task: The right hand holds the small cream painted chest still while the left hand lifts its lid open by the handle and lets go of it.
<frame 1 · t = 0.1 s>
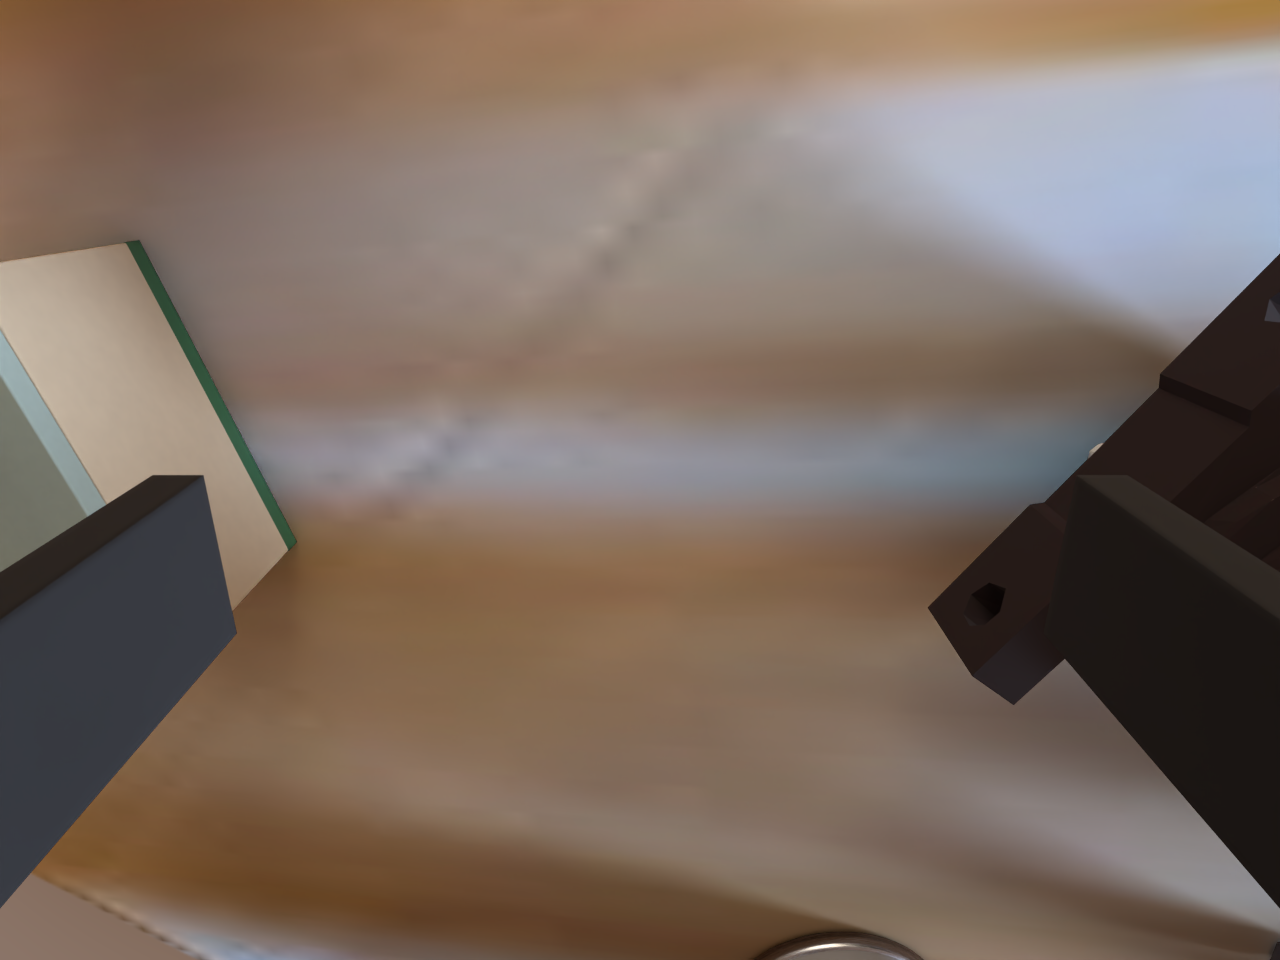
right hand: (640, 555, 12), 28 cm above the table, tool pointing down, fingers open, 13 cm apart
chest: (134, 430, 41), on the table
mechanical component: (1243, 573, 44), on the table
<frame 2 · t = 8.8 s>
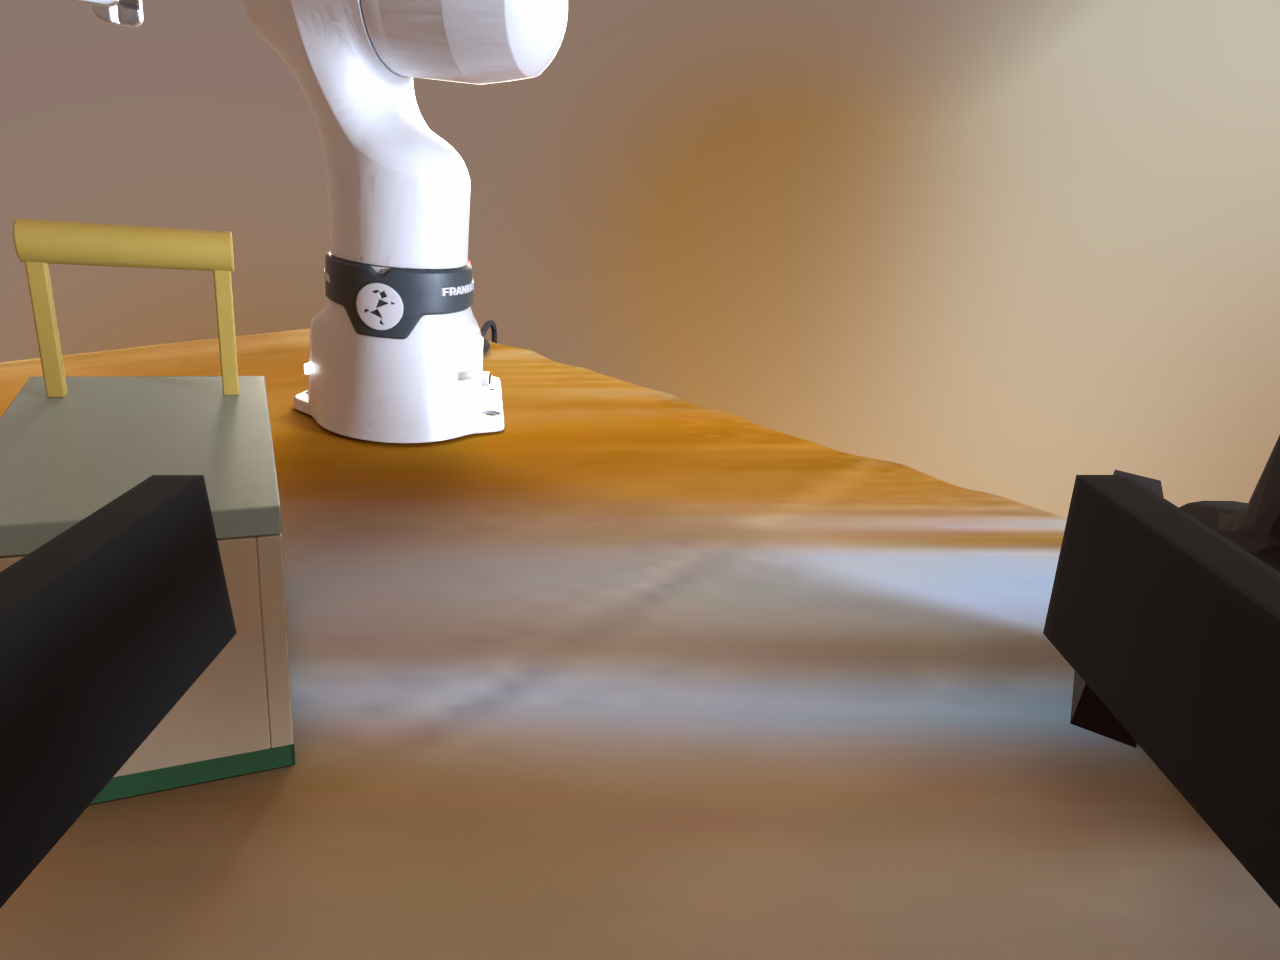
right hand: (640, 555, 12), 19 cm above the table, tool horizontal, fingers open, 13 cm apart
chest: (165, 669, 38), on the table
lid: (127, 355, 32), point 15 cm above the table, hinge at 0.0°
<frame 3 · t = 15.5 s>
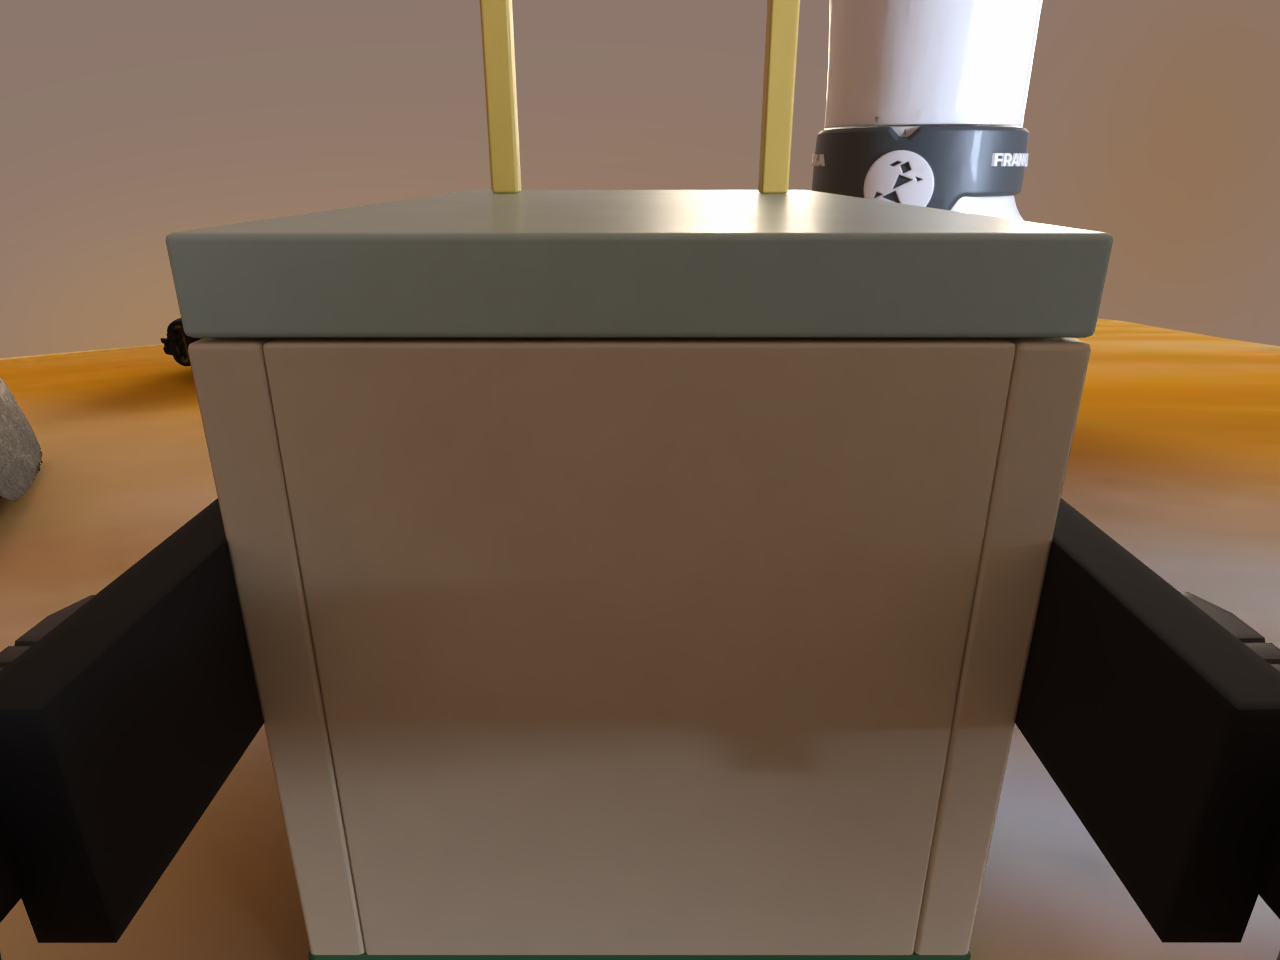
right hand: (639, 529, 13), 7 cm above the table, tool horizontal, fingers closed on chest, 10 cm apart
chest: (639, 690, 20), on the table, touching right hand
lid: (639, 18, 15), point 15 cm above the table, hinge at 0.0°
tape measure: (239, 369, 52), on the table
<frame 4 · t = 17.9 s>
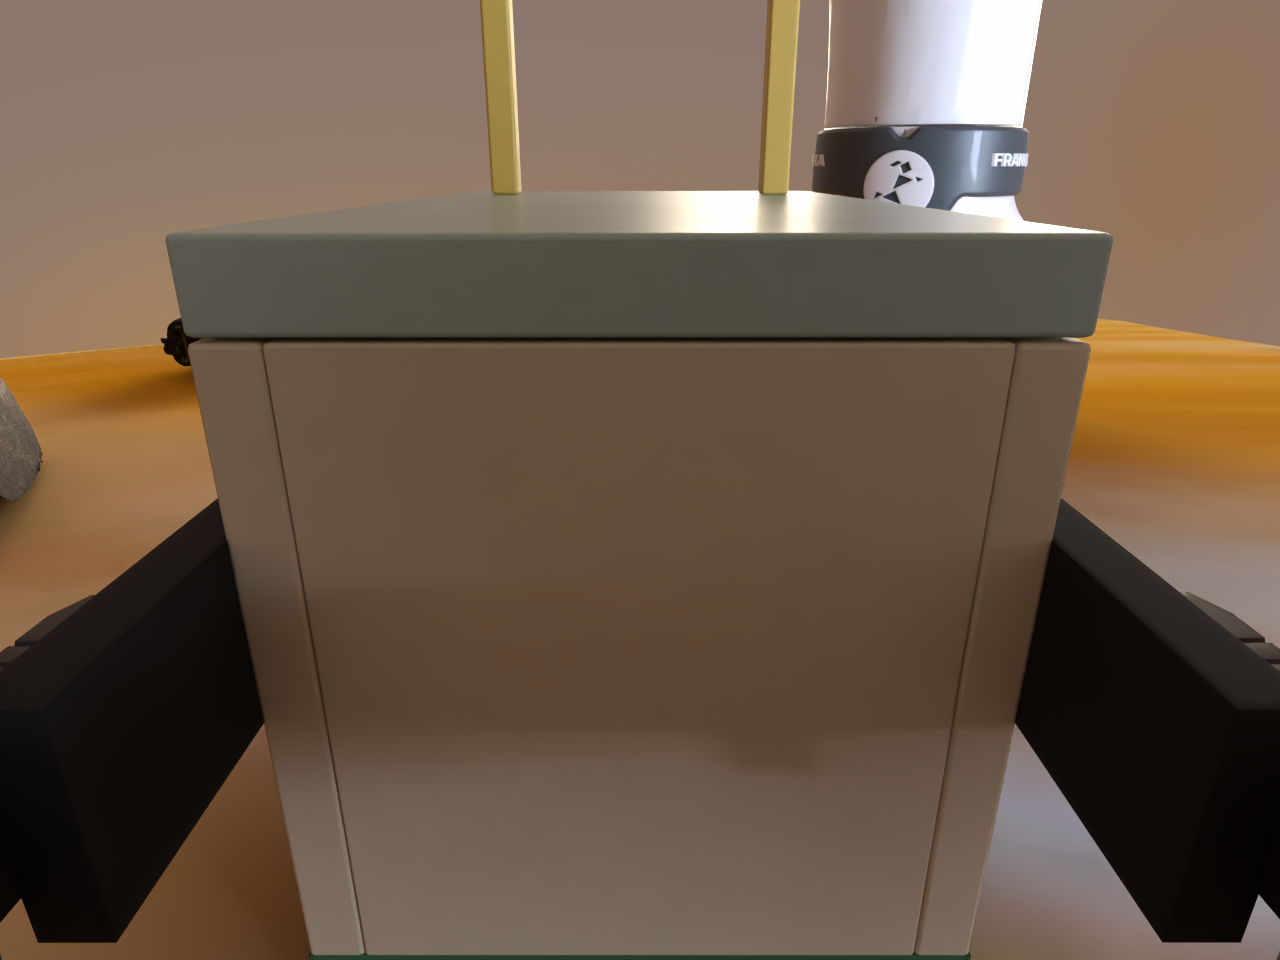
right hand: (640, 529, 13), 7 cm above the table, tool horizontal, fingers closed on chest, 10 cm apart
chest: (639, 690, 20), on the table, touching right hand
lid: (639, 19, 15), point 15 cm above the table, hinge at -0.1°, touching left hand
tape measure: (239, 369, 52), on the table
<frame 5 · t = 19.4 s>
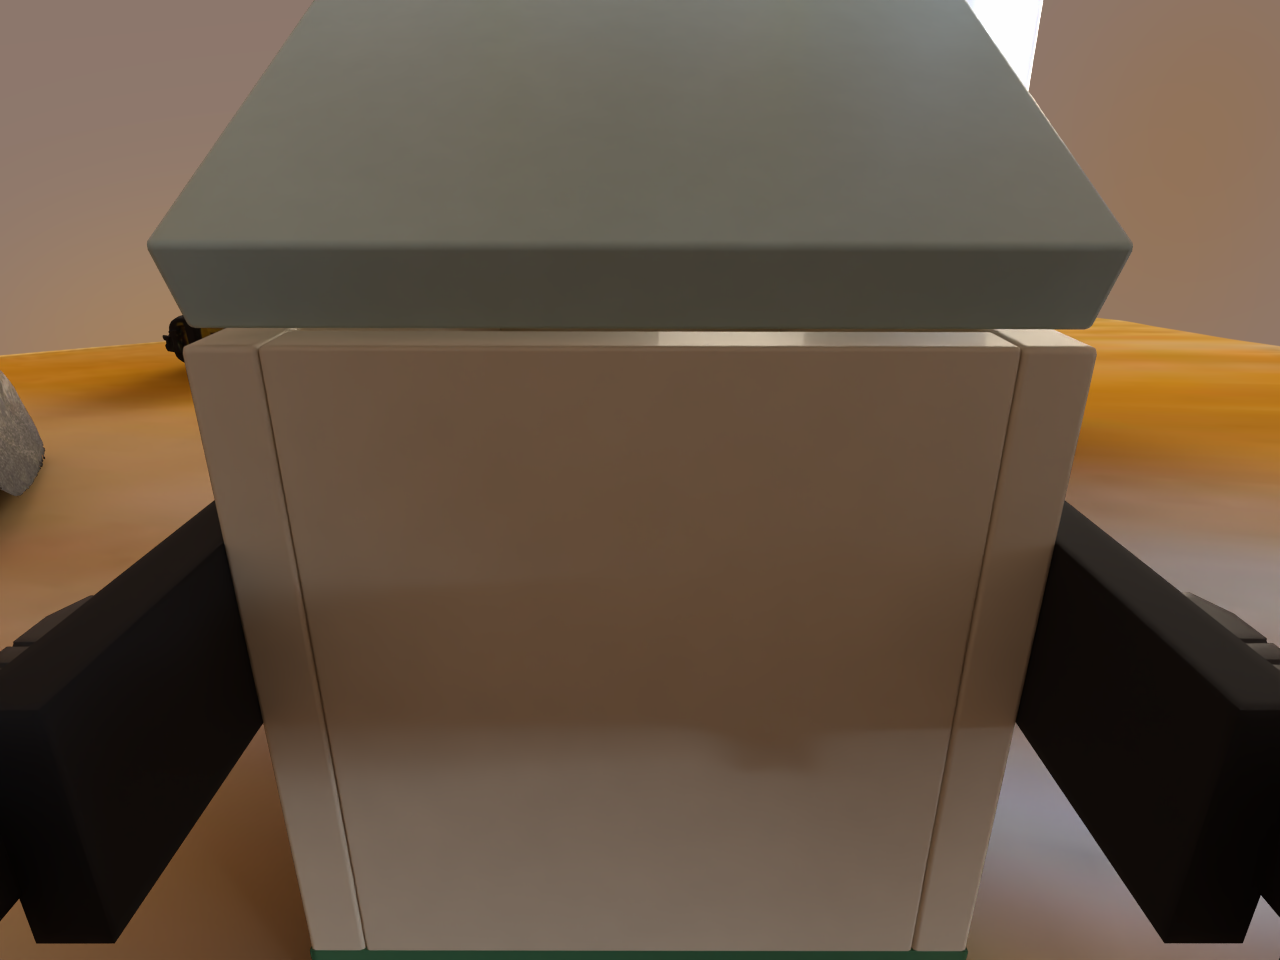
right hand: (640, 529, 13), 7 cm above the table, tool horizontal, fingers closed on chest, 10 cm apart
chest: (639, 682, 20), on the table, touching right hand
tape measure: (241, 366, 52), on the table
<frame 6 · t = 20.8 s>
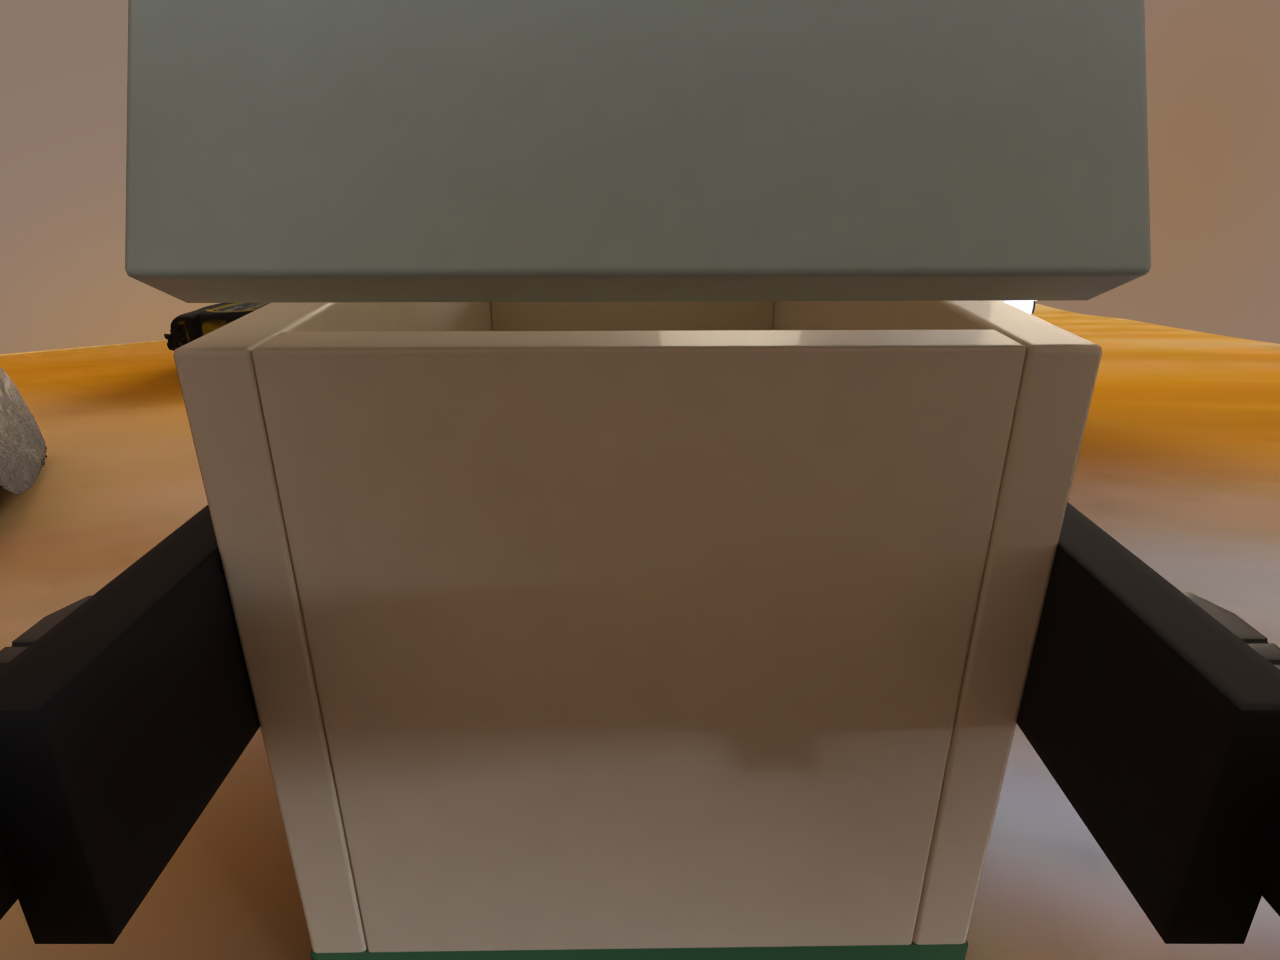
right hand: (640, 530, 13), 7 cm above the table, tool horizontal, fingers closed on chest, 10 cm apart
chest: (635, 675, 20), on the table, touching right hand
tape measure: (242, 365, 52), on the table
when the right hand's fingers open (7 cm above the table, at t = 25.2 s): chest stays where it is, on the table.
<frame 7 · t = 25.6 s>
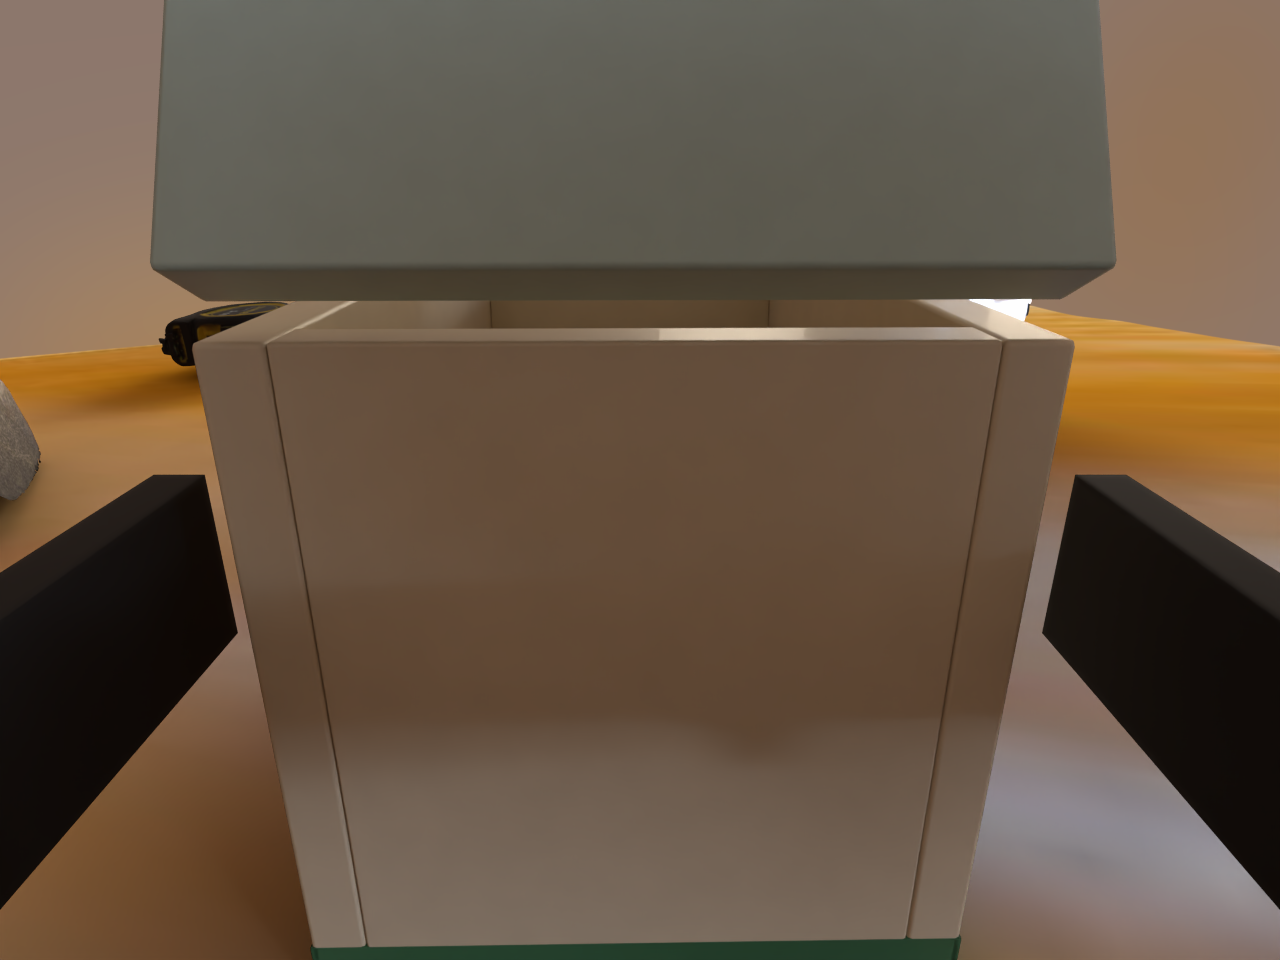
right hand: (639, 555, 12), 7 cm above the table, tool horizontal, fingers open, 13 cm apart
chest: (633, 685, 21), on the table
tape measure: (237, 369, 52), on the table
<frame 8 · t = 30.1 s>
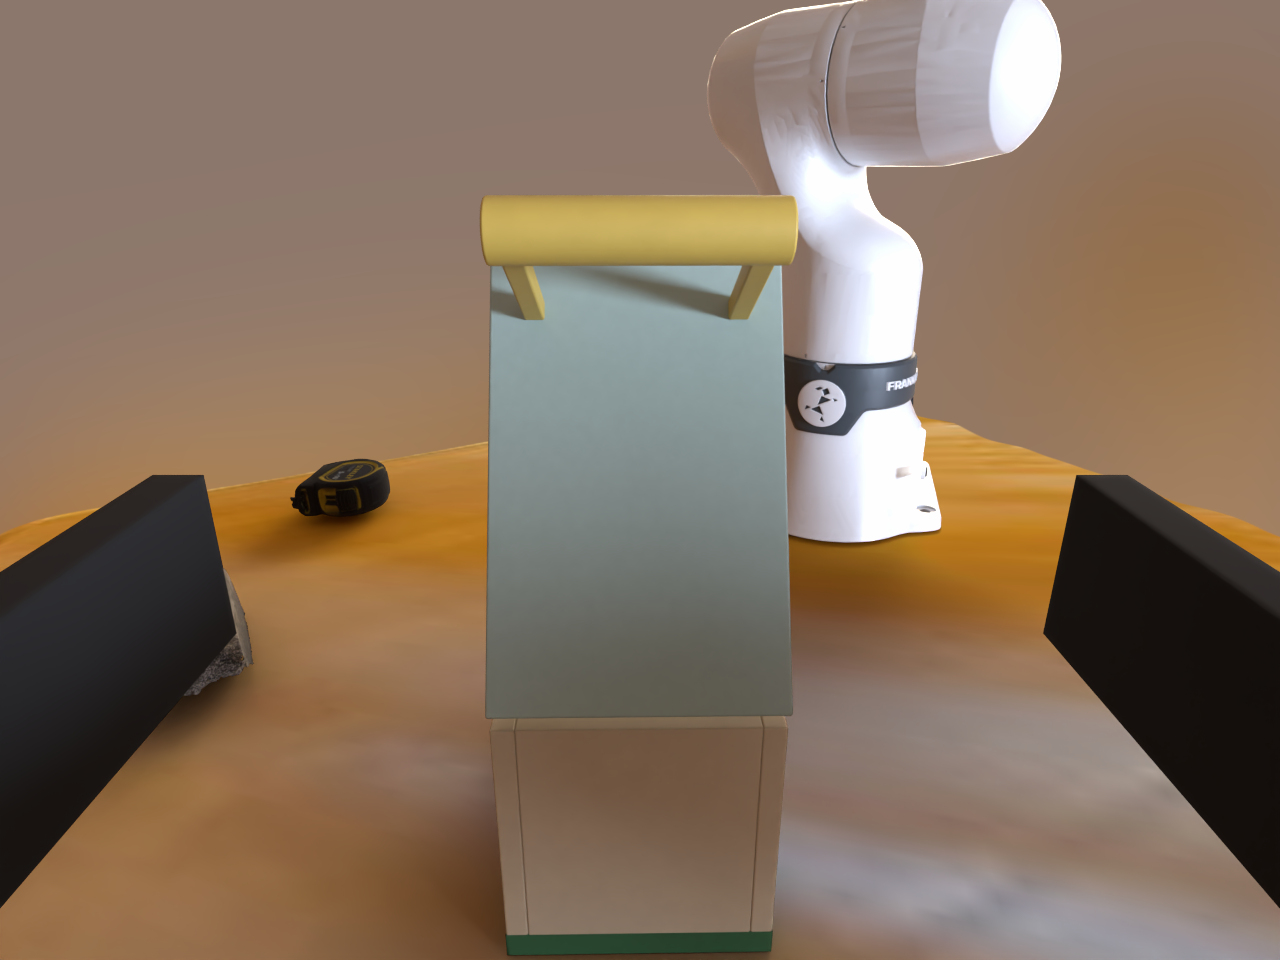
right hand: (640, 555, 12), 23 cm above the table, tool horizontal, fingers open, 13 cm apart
chest: (636, 798, 39), on the table
lid: (638, 449, 24), point 20 cm above the table, hinge at 63.1°
rock: (176, 677, 48), on the table
tape measure: (342, 512, 70), on the table
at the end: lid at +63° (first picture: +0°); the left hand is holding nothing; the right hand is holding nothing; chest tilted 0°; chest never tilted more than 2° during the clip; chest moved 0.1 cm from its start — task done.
